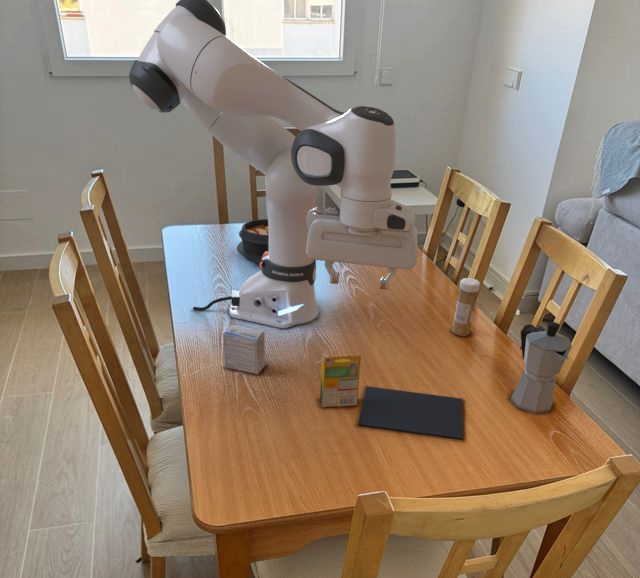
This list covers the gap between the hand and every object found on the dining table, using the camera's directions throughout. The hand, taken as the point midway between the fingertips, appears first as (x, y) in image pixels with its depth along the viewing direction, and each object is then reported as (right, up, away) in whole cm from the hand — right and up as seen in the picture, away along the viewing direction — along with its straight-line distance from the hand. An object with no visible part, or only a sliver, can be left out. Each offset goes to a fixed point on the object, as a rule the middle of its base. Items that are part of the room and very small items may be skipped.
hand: (359, 285), depth 119 cm
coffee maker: (+37, -21, +14) cm, 45 cm away
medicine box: (-24, -14, +20) cm, 34 cm away
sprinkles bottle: (+27, -3, +38) cm, 47 cm away
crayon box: (-4, -22, +10) cm, 24 cm away
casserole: (-23, +26, +74) cm, 81 cm away
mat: (+11, -24, +8) cm, 27 cm away
